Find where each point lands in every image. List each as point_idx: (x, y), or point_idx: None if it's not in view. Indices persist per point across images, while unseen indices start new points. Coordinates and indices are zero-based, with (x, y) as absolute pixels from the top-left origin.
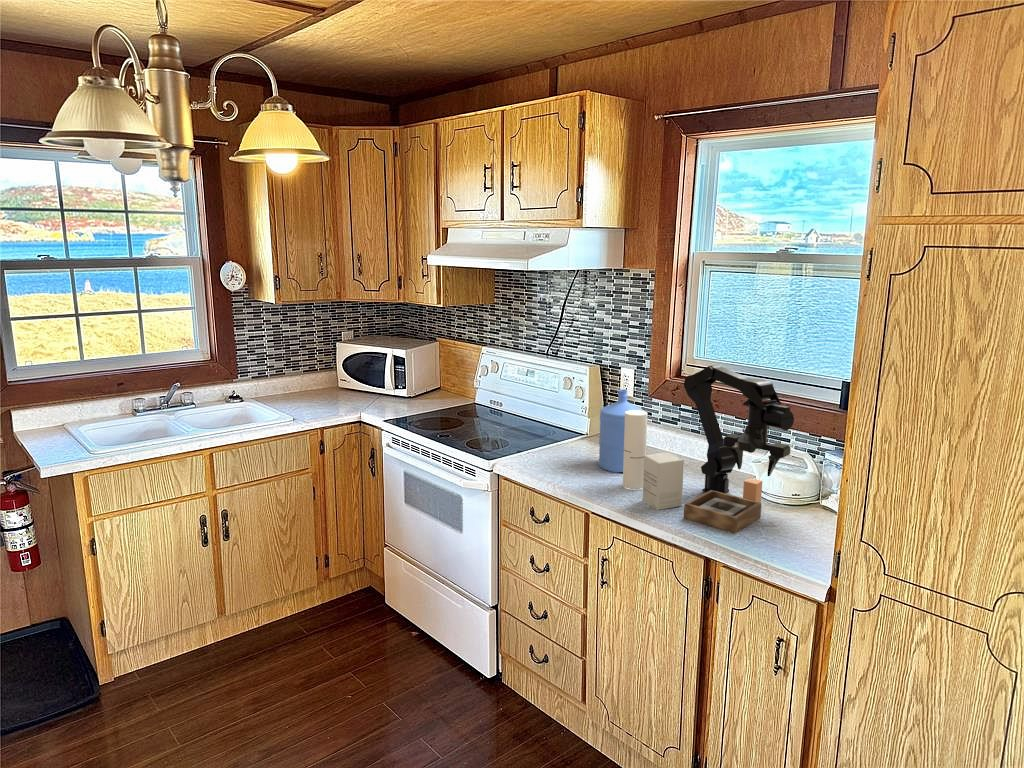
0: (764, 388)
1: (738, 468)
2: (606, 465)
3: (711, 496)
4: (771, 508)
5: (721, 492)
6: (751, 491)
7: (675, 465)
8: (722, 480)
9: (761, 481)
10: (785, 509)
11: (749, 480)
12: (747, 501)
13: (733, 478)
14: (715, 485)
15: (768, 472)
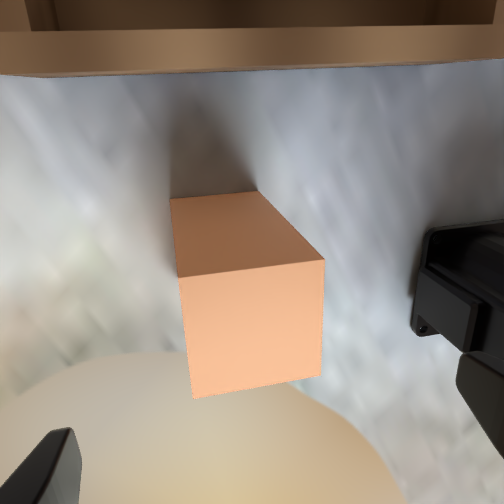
0: None
1: (480, 353)
2: None
3: (463, 16)
4: (107, 292)
5: (421, 58)
6: (218, 236)
7: None
8: (492, 297)
9: (191, 380)
10: (39, 342)
11: (290, 315)
12: (141, 32)
13: (448, 466)
14: (499, 256)
15: (35, 475)
